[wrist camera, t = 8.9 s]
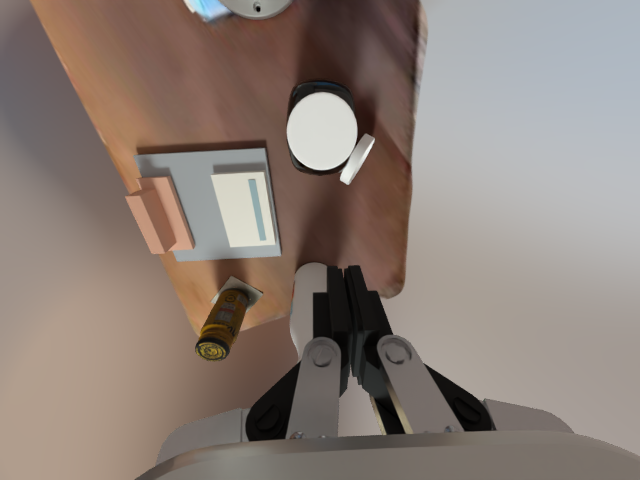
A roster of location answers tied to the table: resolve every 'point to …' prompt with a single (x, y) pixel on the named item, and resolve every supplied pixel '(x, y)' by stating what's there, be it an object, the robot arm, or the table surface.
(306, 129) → the spread jar
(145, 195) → the stub
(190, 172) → the board
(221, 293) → the condiment
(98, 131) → the table surface
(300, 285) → the milk bottle
